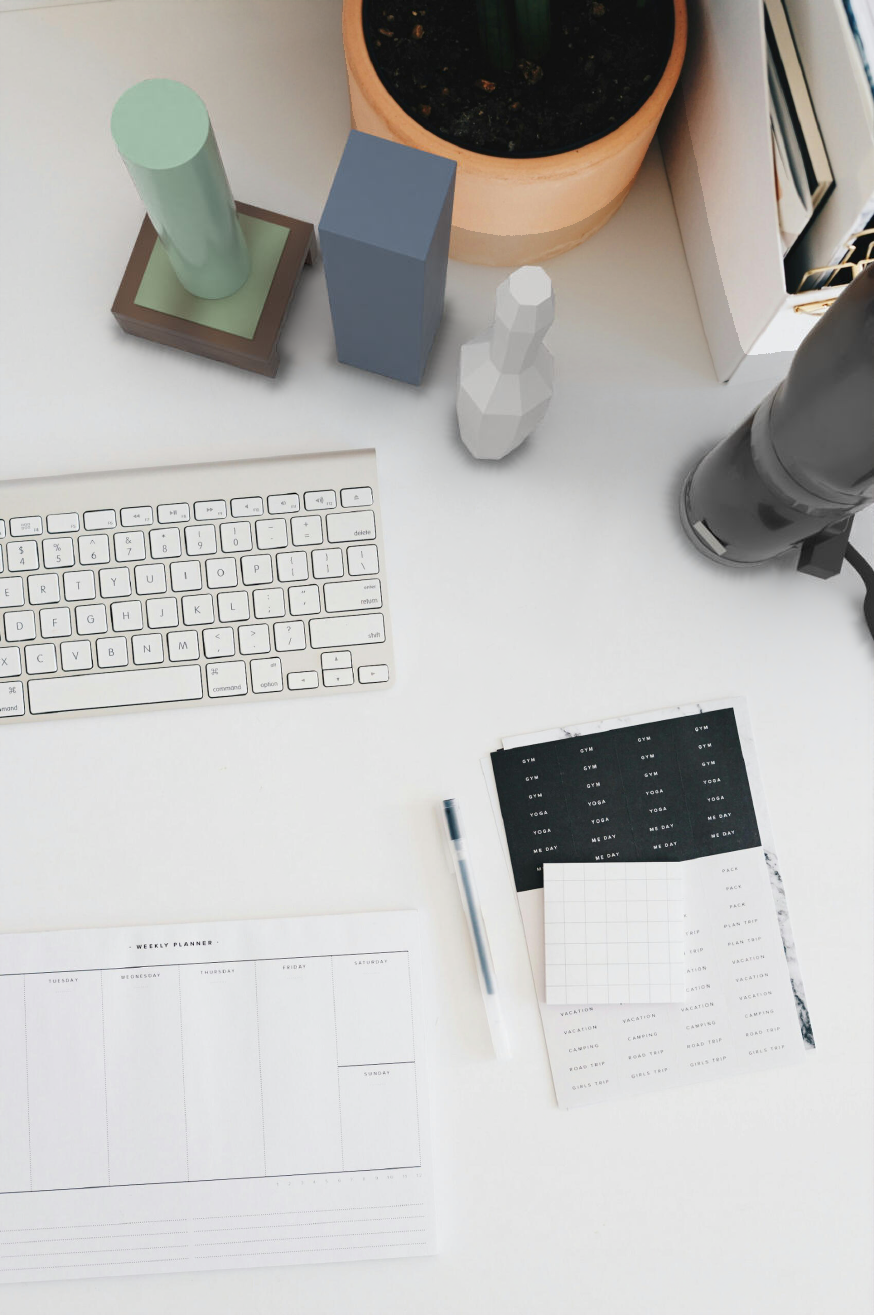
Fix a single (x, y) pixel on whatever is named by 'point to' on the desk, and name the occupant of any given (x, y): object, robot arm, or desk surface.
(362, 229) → the plinth
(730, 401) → the desk surface
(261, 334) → the brown green square block
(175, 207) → the mint green cylinder
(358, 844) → the desk surface
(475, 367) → the faceted bottle
